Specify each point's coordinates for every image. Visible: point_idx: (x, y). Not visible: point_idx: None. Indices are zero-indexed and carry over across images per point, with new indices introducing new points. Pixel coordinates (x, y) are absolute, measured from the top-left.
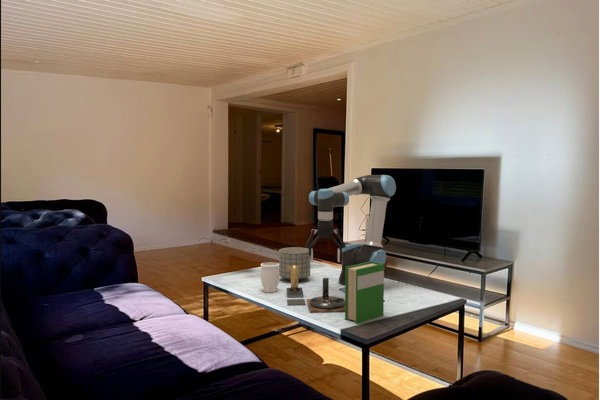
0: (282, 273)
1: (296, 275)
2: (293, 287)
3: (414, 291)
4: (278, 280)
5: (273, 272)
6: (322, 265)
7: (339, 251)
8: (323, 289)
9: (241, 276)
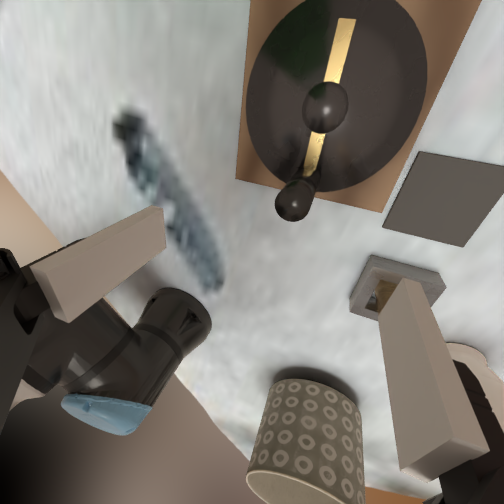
0: (359, 424)
1: None
2: None
3: (45, 195)
4: None
5: None
6: (218, 423)
7: (65, 250)
8: (315, 181)
9: None
